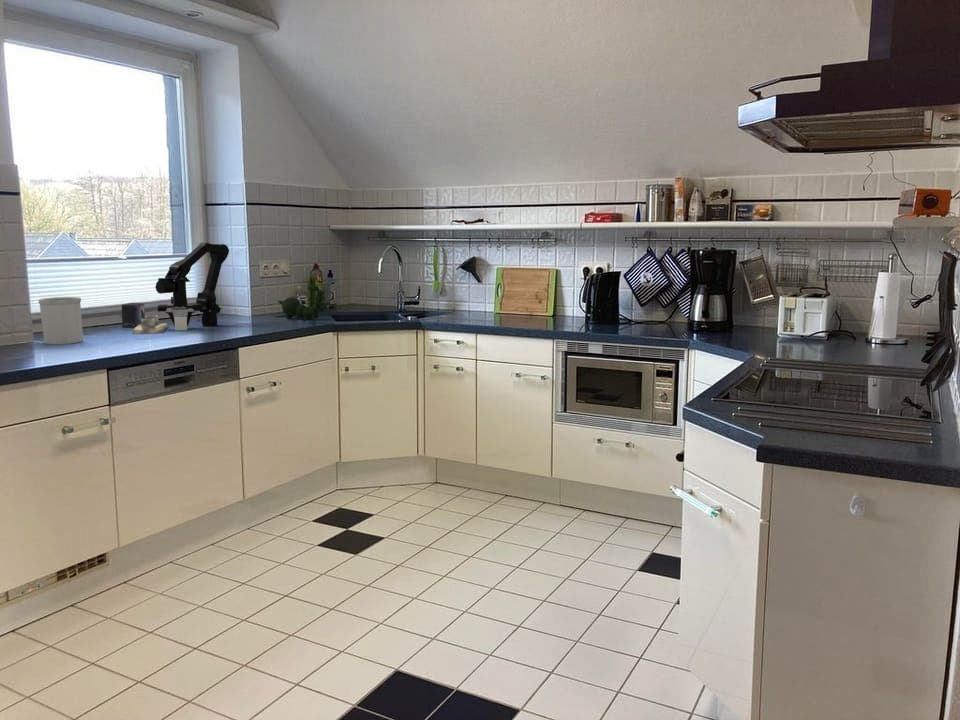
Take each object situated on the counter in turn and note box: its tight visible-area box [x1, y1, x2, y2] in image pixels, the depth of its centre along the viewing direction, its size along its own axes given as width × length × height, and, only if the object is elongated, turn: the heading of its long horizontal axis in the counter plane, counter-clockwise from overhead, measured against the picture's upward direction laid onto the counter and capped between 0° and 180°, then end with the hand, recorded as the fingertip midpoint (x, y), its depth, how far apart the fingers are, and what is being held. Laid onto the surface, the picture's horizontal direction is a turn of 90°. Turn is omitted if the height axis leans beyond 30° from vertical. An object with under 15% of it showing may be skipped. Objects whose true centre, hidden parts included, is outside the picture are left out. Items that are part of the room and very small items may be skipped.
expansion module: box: [174, 314, 189, 331], centre depth 348 cm, size 5×6×6 cm
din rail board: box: [132, 314, 168, 335], centre depth 345 cm, size 12×22×6 cm, turn 17°
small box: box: [121, 302, 146, 328], centre depth 358 cm, size 11×6×10 cm, turn 179°
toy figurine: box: [277, 284, 326, 321], centre depth 390 cm, size 9×19×25 cm
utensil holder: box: [38, 296, 84, 345], centre depth 306 cm, size 15×15×18 cm
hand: (181, 326), depth 348 cm, fingers closed on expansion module, 5 cm apart
